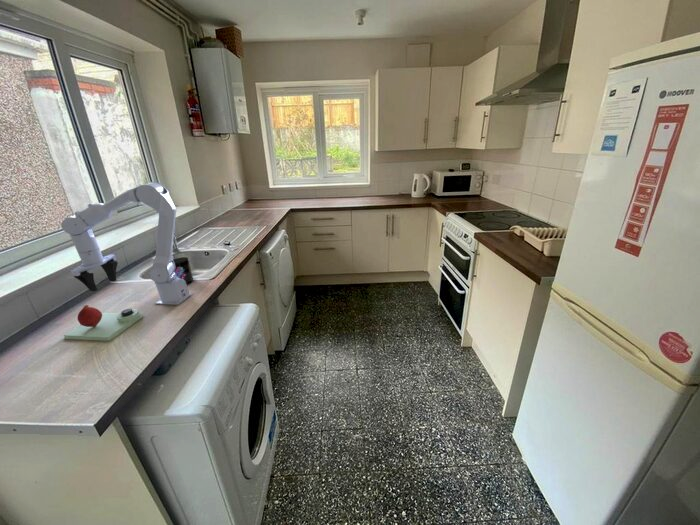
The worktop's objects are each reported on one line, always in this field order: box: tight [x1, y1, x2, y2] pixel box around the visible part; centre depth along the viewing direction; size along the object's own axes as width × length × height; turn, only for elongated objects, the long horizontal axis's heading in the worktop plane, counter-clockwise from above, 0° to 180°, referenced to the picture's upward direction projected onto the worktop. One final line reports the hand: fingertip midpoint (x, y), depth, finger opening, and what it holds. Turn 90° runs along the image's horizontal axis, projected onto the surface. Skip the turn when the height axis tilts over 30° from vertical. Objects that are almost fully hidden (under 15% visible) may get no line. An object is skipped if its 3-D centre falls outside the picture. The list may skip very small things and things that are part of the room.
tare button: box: [120, 308, 133, 317], centre depth 97 cm, size 3×3×2 cm
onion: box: [77, 304, 103, 327], centre depth 92 cm, size 6×6×8 cm
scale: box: [63, 308, 143, 342], centre depth 95 cm, size 16×13×3 cm
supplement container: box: [173, 256, 195, 285], centre depth 124 cm, size 7×7×10 cm
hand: (103, 285), depth 103 cm, fingers open, 7 cm apart
